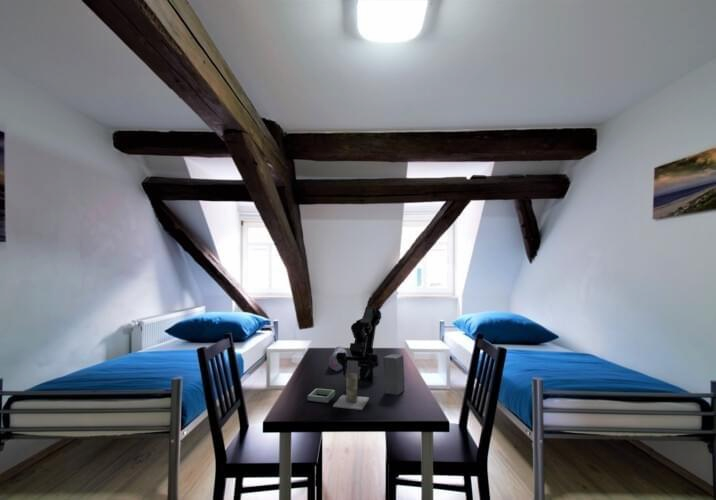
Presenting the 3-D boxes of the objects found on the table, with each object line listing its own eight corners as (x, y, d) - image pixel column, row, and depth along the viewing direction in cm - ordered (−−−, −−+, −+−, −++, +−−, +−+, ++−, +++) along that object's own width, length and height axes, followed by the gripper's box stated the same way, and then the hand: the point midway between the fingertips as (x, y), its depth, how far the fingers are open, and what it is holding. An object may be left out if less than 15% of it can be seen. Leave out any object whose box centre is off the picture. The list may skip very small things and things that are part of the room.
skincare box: (397, 396, 145) (397, 358, 146) (382, 393, 149) (382, 356, 150) (405, 390, 152) (405, 354, 153) (391, 387, 156) (391, 352, 157)
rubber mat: (369, 398, 142) (369, 397, 142) (361, 410, 131) (361, 408, 131) (342, 395, 146) (342, 394, 146) (332, 406, 134) (332, 405, 134)
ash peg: (356, 398, 141) (356, 372, 142) (358, 403, 137) (358, 375, 137) (345, 399, 140) (345, 372, 141) (347, 403, 136) (347, 376, 136)
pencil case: (333, 361, 201) (333, 345, 202) (347, 361, 201) (347, 345, 201) (328, 372, 180) (328, 354, 181) (344, 372, 180) (344, 354, 181)
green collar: (335, 394, 147) (335, 390, 147) (327, 402, 138) (327, 397, 139) (316, 392, 150) (316, 388, 150) (307, 400, 141) (307, 395, 141)
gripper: (337, 334, 152) (329, 366, 141) (377, 336, 147) (373, 369, 136) (342, 347, 159) (335, 379, 148) (380, 349, 155) (376, 382, 143)
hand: (354, 377), depth 144 cm, fingers open, 9 cm apart
